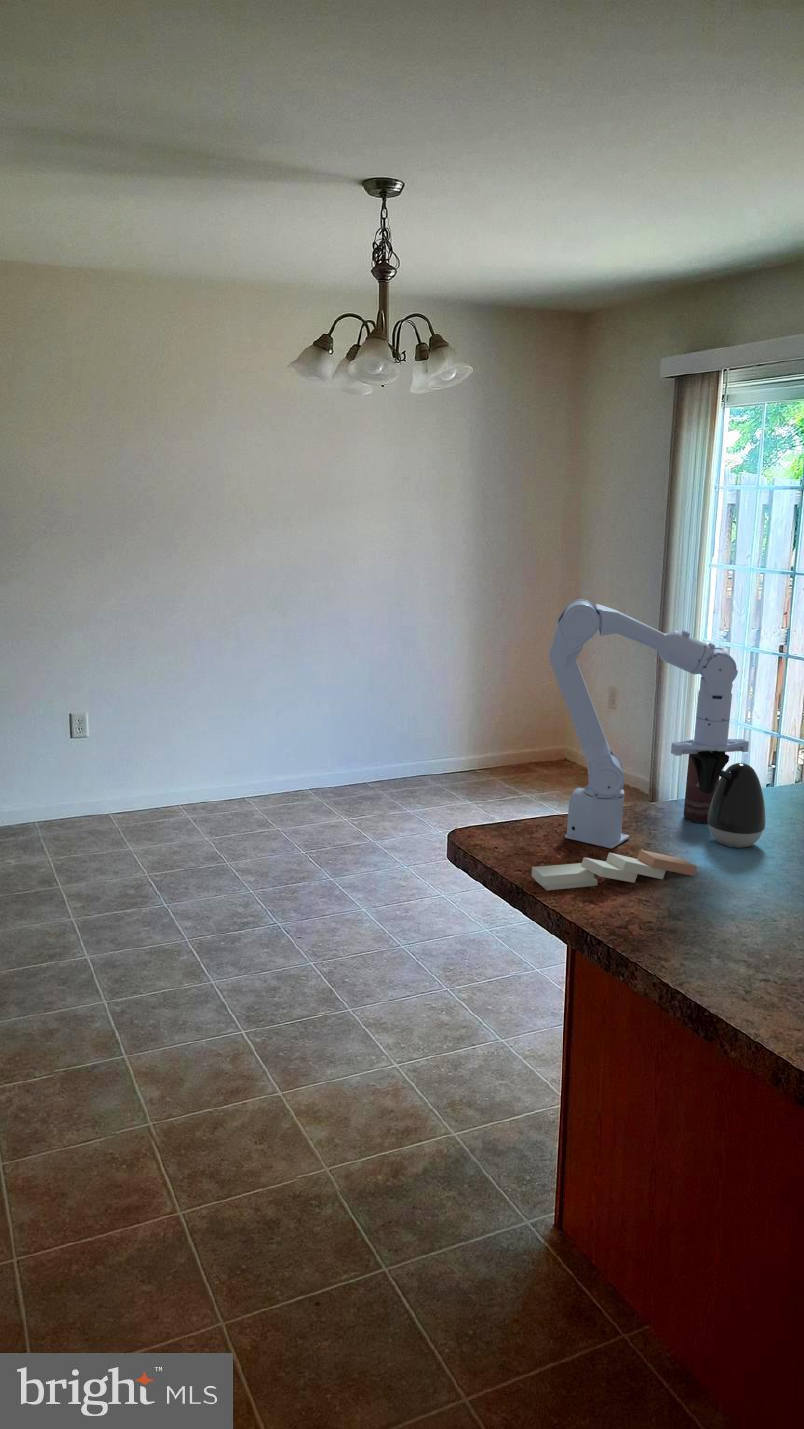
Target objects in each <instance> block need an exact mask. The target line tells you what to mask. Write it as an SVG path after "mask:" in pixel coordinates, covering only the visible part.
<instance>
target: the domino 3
mask: <svg viewBox="0 0 804 1429" xmlns="http://www.w3.org/2000/svg"><path fill="white" fill-rule="evenodd" d="M581 863H582V864H581V867H583V868H585V869H587V870H589V871H591V872H593V873H594V875H597V876H598V877H602V878H607V879H613V880H616V881H624V882H629V883H633V884H634V883H636V879H637V877H638V875H639V874H636V873H632V872H627V871H623V870H621V869H619V868H617V867H615V866H613V865H611V864H610V863H608V862H606V860H605V861H604V860H600V859H594V858H590V857H583V858H582V862H581Z"/></svg>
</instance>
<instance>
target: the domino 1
mask: <svg viewBox="0 0 804 1429" xmlns="http://www.w3.org/2000/svg"><path fill="white" fill-rule="evenodd" d="M581 864H582V862H578V863H577V862H576V863H564V864H554V865H541V866H532V867H531V877H532V878H533V879H534V880H536V881H538V882H539V883H540V884H541V885H542V886H547V885H558V884H569V883H581V882H592V881H594V878H595V873H593V872H591V871H589V870H587V869H585V868H583V867H581ZM536 881H535V882H536ZM538 882H537V883H538ZM539 883H538V884H539ZM540 884H539V885H540ZM541 885H540V886H541ZM542 886H541V887H542Z"/></svg>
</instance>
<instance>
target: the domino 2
mask: <svg viewBox="0 0 804 1429" xmlns="http://www.w3.org/2000/svg"><path fill="white" fill-rule="evenodd" d="M534 880H535V879H534ZM535 882H536V883H538V884H539V885H540V886H541V887H542V888H543V889H544V890H545V891H553V890H554V891H555V890H564V889H575V888H585V887H595V886H598V879H597V878H595V877H594V881H592V882H581V883H569V884H558V885H547V886H542V885H541V884H540V883H539V882H538V881H536V880H535Z"/></svg>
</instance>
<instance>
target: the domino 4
mask: <svg viewBox="0 0 804 1429" xmlns="http://www.w3.org/2000/svg"><path fill="white" fill-rule="evenodd" d="M605 862H608V863H610V864H611V865H613V866H615V867H617V868H619V869H621V870H623V871H627V872H632V873H636V874H638V875H642V876H646V877H651V878H655V879H660V880H663V879H664V877H665V874H666V871H667V870H662V869H658V868H653V867H651V866H649V865H647V864H645V863H644V862H642V861H640V860H639V859H637V858H635V857H630V856H625V855H622V854H617V853H613V852H608V855H607V858H606V860H605Z"/></svg>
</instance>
